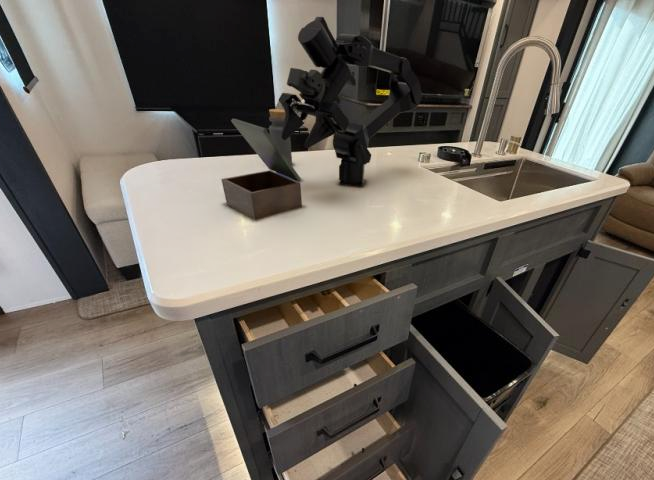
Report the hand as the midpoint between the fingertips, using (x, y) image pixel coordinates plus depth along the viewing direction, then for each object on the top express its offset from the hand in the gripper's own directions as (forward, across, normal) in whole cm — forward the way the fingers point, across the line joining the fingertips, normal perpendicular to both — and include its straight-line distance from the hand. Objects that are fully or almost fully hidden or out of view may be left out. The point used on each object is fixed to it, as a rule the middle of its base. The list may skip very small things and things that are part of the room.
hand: (294, 142), depth 73 cm
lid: (+6, 0, -4) cm, 8 cm away
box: (+16, 0, +2) cm, 16 cm away
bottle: (-1, -25, +19) cm, 32 cm away
